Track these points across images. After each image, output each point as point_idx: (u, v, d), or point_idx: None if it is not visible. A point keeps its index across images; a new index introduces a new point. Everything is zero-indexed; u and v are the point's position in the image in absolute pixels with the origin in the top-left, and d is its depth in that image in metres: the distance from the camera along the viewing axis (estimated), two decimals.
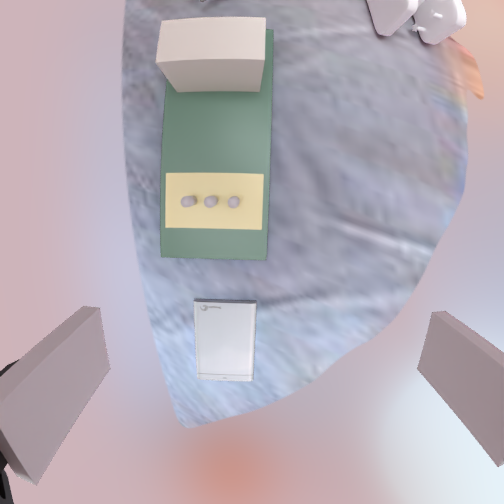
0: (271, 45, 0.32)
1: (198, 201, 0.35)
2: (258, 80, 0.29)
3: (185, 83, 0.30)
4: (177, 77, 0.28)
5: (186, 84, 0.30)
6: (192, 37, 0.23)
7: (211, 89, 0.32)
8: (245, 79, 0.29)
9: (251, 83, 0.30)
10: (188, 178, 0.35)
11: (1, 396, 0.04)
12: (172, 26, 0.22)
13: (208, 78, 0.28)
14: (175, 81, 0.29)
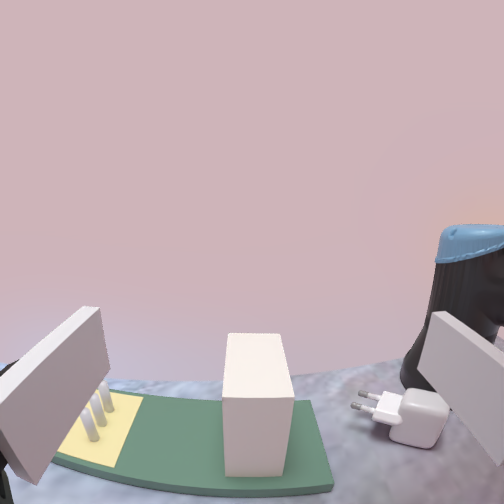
0: (305, 485, 0.20)
1: (106, 413, 0.27)
2: (224, 447, 0.21)
3: None
4: None
5: None
6: (255, 350, 0.26)
7: None
8: None
9: None
10: (131, 410, 0.29)
11: (1, 396, 0.04)
12: (271, 339, 0.28)
13: None
14: None
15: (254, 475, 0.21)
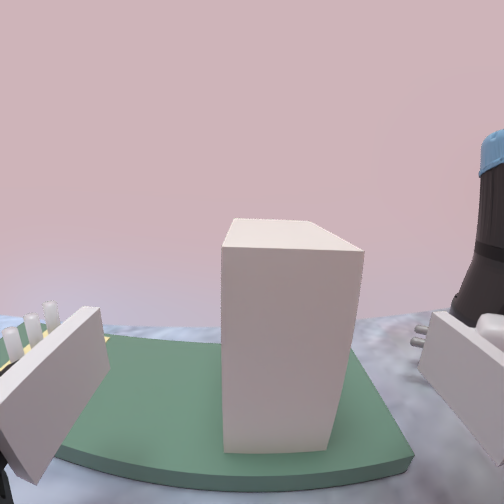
0: (368, 462, 0.11)
1: None
2: (222, 386, 0.12)
3: None
4: None
5: None
6: (277, 225, 0.17)
7: None
8: None
9: None
10: None
11: (1, 396, 0.04)
12: (299, 222, 0.19)
13: None
14: None
15: (277, 450, 0.12)
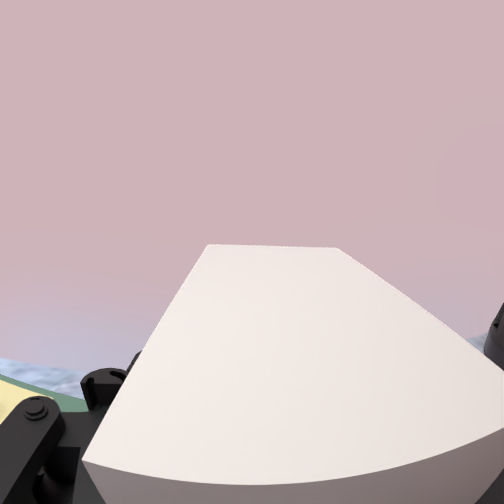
0: None
1: None
2: None
3: None
4: None
5: None
6: (285, 268, 0.08)
7: None
8: None
9: None
10: None
11: None
12: (323, 253, 0.11)
13: None
14: None
15: None
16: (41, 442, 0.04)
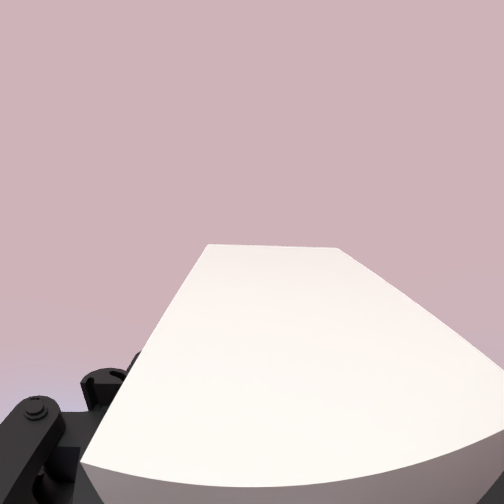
0: None
1: None
2: None
3: None
4: None
5: None
6: (285, 268, 0.08)
7: None
8: None
9: None
10: None
11: None
12: (323, 253, 0.10)
13: None
14: None
15: None
16: (41, 442, 0.04)
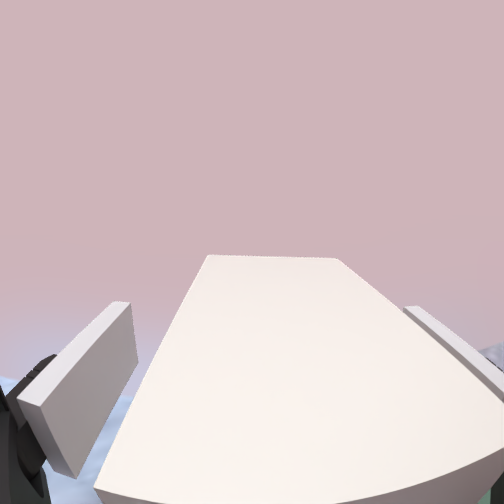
0: None
1: None
2: None
3: None
4: None
5: None
6: (284, 282, 0.08)
7: None
8: None
9: None
10: None
11: (47, 390, 0.05)
12: (322, 265, 0.11)
13: None
14: None
15: None
16: None
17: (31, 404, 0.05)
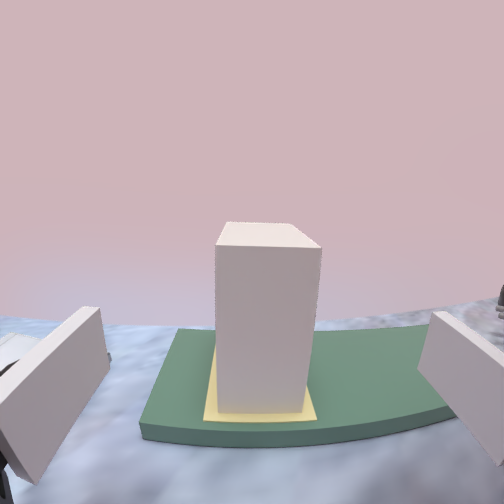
0: None
1: None
2: (216, 353, 0.16)
3: None
4: None
5: None
6: (261, 227, 0.21)
7: None
8: None
9: None
10: None
11: (1, 396, 0.04)
12: (281, 225, 0.23)
13: None
14: None
15: (261, 410, 0.16)
16: None
17: None
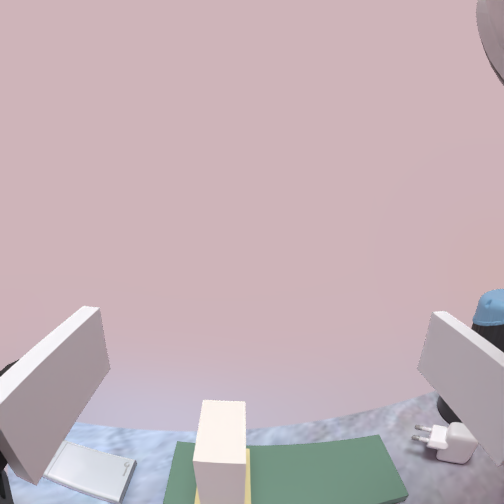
0: (390, 498, 0.25)
1: None
2: (198, 489, 0.25)
3: None
4: None
5: None
6: (222, 418, 0.30)
7: None
8: None
9: None
10: None
11: (1, 396, 0.04)
12: (237, 407, 0.32)
13: None
14: None
15: None
16: None
17: None
